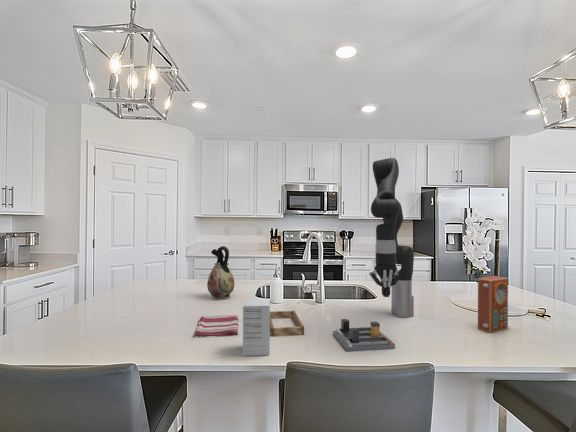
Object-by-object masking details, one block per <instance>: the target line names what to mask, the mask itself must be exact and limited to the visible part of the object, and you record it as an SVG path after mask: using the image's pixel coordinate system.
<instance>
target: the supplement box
mask: <svg viewBox="0 0 576 432" xmlns="http://www.w3.org/2000/svg"><path fill="white" fill-rule="evenodd" d="M270 305H271V304H270V299H268V298H267V299H264V298H263V299H244V301H243V305H242V356H243V357H246V356H247V357H249V356H250V357H251V356H257V357H258V356H260V357H261V356H270V353H271V352H270V344H271V343H270V341H271V339H270V338H271V337H270V335H271V333H270V312H271V309H270V308H271V307H270Z"/></svg>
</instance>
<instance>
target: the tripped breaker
mask: <svg viewBox="0 0 576 432" xmlns="http://www.w3.org/2000/svg"><path fill="white" fill-rule="evenodd" d="M380 326H381V324H380V322H378V321H370V327H371V336H378V335H380V332H381V331H380Z"/></svg>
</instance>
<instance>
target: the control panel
mask: <svg viewBox="0 0 576 432" xmlns="http://www.w3.org/2000/svg"><path fill="white" fill-rule="evenodd" d="M508 310H509V278H508V277H504V276H498V275H493V276H492V275H491V276H485V277H479V278H477V330H480V331H483V332H487V333H491V334H492V333H494V332H495V333H496V332H500V331H502V330H503V331H504V330H506V329H508V327H509V326H508V325H509V323H508V322H509V314H508V313H509V311H508Z"/></svg>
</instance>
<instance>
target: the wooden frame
mask: <svg viewBox="0 0 576 432" xmlns="http://www.w3.org/2000/svg"><path fill="white" fill-rule="evenodd" d="M272 319H293V321H294V323H295V325H296V326H284V327H274V324H273V320H272ZM270 332H271V333H270V335H271V337H286V336H285V335H290V336H305V326H304V324H303V323H302V321H301V320H300V317H299V316H298V314H297V313H296V311H295V310H279V311H278V310H274V311H272V310H271V311H270Z"/></svg>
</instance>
